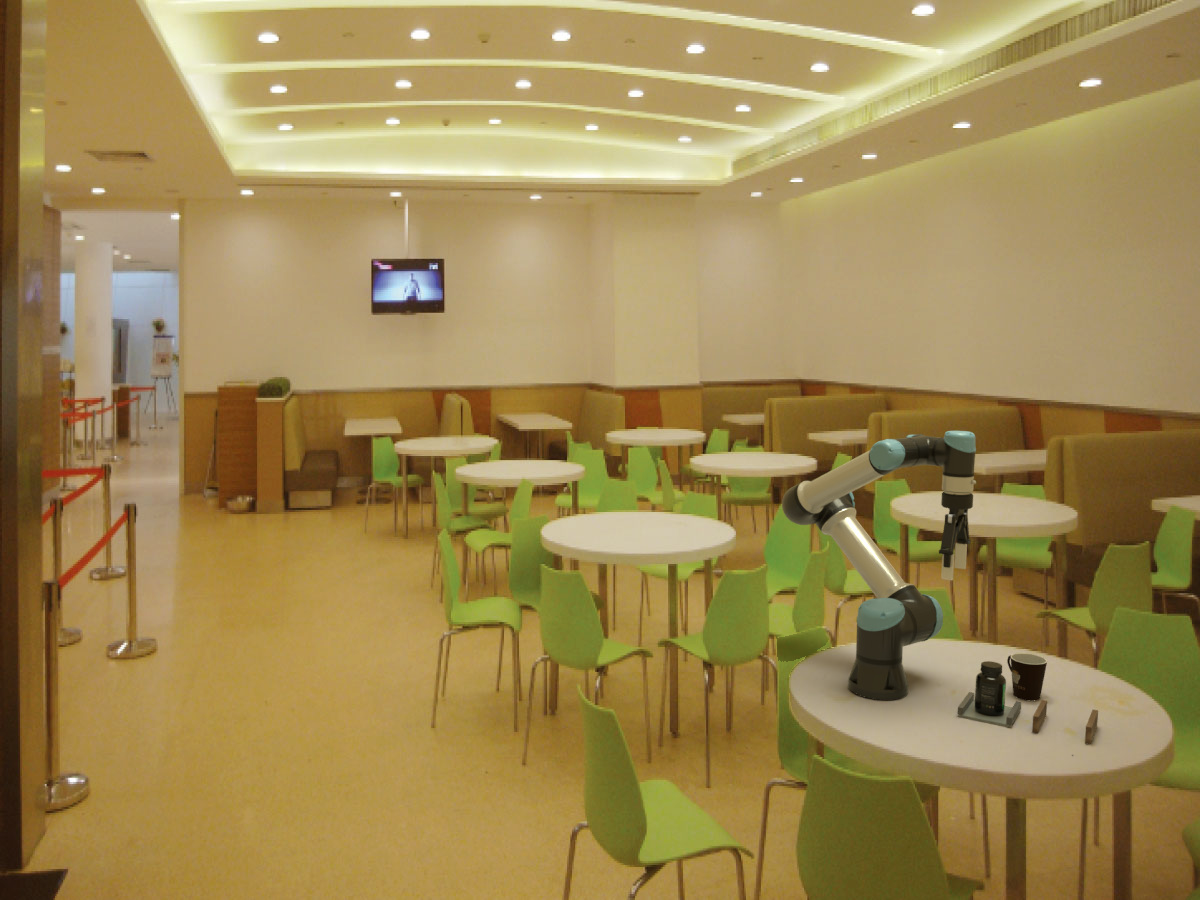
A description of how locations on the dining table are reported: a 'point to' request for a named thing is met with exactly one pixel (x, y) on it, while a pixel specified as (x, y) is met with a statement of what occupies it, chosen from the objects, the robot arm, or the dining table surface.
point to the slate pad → (1005, 719)
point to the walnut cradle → (1041, 714)
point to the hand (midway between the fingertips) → (953, 573)
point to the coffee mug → (1027, 675)
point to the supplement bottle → (990, 689)
